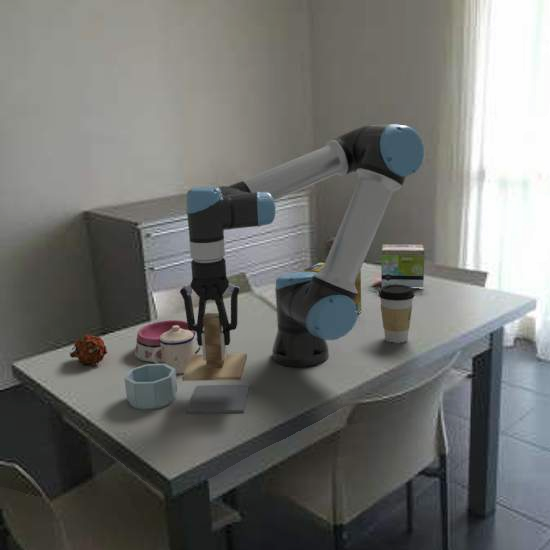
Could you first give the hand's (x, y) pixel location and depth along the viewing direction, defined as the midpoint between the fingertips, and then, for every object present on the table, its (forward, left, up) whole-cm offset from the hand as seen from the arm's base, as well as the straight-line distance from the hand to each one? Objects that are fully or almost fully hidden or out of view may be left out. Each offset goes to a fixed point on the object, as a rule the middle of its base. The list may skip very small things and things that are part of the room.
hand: (215, 358), depth 141 cm
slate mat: (0, 0, -10) cm, 10 cm away
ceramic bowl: (+16, -1, -10) cm, 19 cm away
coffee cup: (-46, -36, -11) cm, 59 cm away
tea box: (-55, -90, -11) cm, 106 cm away
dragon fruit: (+39, -24, -11) cm, 47 cm away
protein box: (-29, -60, -11) cm, 67 cm away
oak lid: (0, 0, -3) cm, 3 cm away
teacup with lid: (+14, -18, -11) cm, 25 cm away
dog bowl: (+19, -32, -11) cm, 39 cm away
